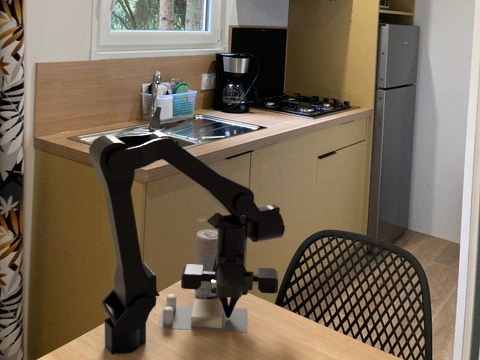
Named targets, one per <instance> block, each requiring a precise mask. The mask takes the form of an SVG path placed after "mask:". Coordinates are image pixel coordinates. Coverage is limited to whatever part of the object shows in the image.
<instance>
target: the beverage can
mask: <svg viewBox="0 0 480 360" xmlns="http://www.w3.org/2000/svg"><path fill="white" fill-rule="evenodd" d="M217 234H218V230H217V229H201V230H199V231H198V232H197V233H196V240H195V242H196V244H195V245H196V246H195V264H196V265H204V271H207V272H215V267H216V256H217ZM211 285H212V284H211V282H206V281H201V287H199V288H198V289H197V290H196V289H194V295H195V296H196V297H198V299H209V300H214V299H216V298H219V297H218V296H217V295H216V294H214V293H211Z"/></svg>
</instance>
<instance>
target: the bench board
mask: <svg viewBox="0 0 480 360" xmlns="http://www.w3.org/2000/svg"><path fill="white" fill-rule="evenodd" d="M192 310H193V305H183V304H177V295H176V294H174V293H171V294H170V293H169V294H167V295H166V302H165V304H163V306H162V311H161V315H160V317H159V318H160V319H159V322H158V324H157V325H158V326H157V329H165V330H166V329H168V330H169V329H170V330H185V331H186V330H188V331H189V330H190V331H191V330H192V331H206V332H207V331H208V332H210V331H211V332H224V333H225V332H230V333H248V308H246V307H245V308H244V307H243V308H242V307H234V309H233V312H232V314H231V316H230V318H226V315H225V312H224V309H223V318H222V328H210V327H191V315H192Z"/></svg>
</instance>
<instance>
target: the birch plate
mask: <svg viewBox="0 0 480 360" xmlns="http://www.w3.org/2000/svg"><path fill="white" fill-rule="evenodd" d="M192 306H193V310H192V315H191V327H210V328H222V318H223V306H222V303H221V300H220V299H202V298H194V300H193V305H192Z"/></svg>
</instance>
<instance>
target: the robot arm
mask: <svg viewBox="0 0 480 360" xmlns="http://www.w3.org/2000/svg"><path fill="white" fill-rule="evenodd" d="M88 156H89V159H90V162H91V164H92V167H93V169H94V172H95V174H96V176H97V179H98V181H99V184H101V188H102V189H103V192H104V196H105V203H106V207H107V208H106V209H107V212H108V213H107V214H108V220H109V225H110V231H111V236H112V241H113V248H114V253H115V258H116V268H115V272H114V275H113V289H112V290H111V291H110V292H109V293H108V294H107V296H105V298H104V299H103V300H102V301H101V305H102V306H103V309H104V311H105V312H106V313H107V315H108V316H109V317H108V318H106V319H104V347H105V348H106V349H107V350H108V353H109V352H110V354H111V355H116V354H119V355H126V354H131V353H134V352H135V351H137V350H138V349H139V348H140V347H141V346H143V345H144V344H146V342H147V321H148V319H149V315H150V313H151V312H152V311H153V309H154V308H156V305H157V297H160V293H159V291H158V289H157V280H158V279H157V276H156V274H155V273H154V272H153V271H152V269H151V268H150V267H149V266H148V265H147V264H146V262H143V259H142V254H141V247H140V242H139V241H140V240H139V239H140V238H139V234H138V228H137V222H136V215H135V209H134V202H133V196H132V188H133V184H134V180H135V175H136V170H138V169H142V168H146V167H147V166H148V167H149V166H150V165H152V164H154V163H155V162H158V161H164V162H166V163H167V164H169V165H170V166H171V167H173V168H174V169H176V170H177V171H179V172H180V173H182V174H183V175H184V176H186V177H187V178H189V179H190V180H192V181H193V182H194V183H196V184H197V185H199V186H200V187H201V188H202V189H203V190H204V191H205V192H206V194H207V195H208V196H209V197H210V199H211V200H213V202H215V204H217V206H219V207H220V208H222V209H223V210H225V211H226V212H227V213H229V214H221V213H220V212H219V211H215V213H214V214H213V215H212V216H210V217H209V218H208V219H207V222H206V223H208V224H209V225H210V226H211V227H213V228H214V230H217V231H218V234H217V256H216V267H215V272H207V271H204V265H196V263H195V264H193V263H186V264H185V265H184V266H183V268H182V269H183V270H182V274H181V281H180V287H181V288H182V289H183V290H195V289H196V290H197V289H198V288H199V287H201V281H206V282H211V284H212V285H211V293H214V294H216V295H217V296H218V297H217V298H219V300H221V303H222V306H223V309H224V312H225V315H226V318H230V316H231V314H232V312H233V309H234V308H236V304H237V303H238V301H239V300H240V298H242V296H247V295H248V294H249V291H253V289H254V288H253V287H254V285H257V290H258V291H259V292H260V293H261V294H277V293H278V292H279V276H278V275H279V273H278V271H277V270H276V268H270V267H268V268H267V267H257V273H254V271H248V270H247V268H246V259H247V242H248V238H249V240H251V242H253V243H258V242H264V241H270V240H276V239H281V238H282V237H283V236H284V234H285V229H286V226H285V223H284V219H283V217H282V215H281V213H280V212H281V211H280V210H281V207H279V206H277V205H276V204H269V205H266V206H263V207H262V206H261V207H258V205H257V204H256V203H255V193H254V192H253V190H251V189H250V188H249V187H247V186H245V185H243V184H242V183H240V182H239V181H237V180H234V179H232V178H230V177H228V176H226V175H224V174H221V173H220V172H216V171H215V170H214V169H213V168H211V167H209V166H208V164H205V163H204V162H203V161H201V160H200V159H198V158H197V157H196V156H194V155H193V154H192V153H191V152H190V151H188V150H187V149H186V148H184V147H183V146H181V145H180V144H178V143H177V142H176V141H175V140H174V139H173V137H171V136H169V135H167V134H166V133H164V132H161V131H153V132H149V133H143V134H126V135H120V136H115V135H112V134H103V135H101V136H100V135H99V136H98V137H97V138H95V139H94V140H93V141H92V143H91V144H90V146H89V148H88Z"/></svg>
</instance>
